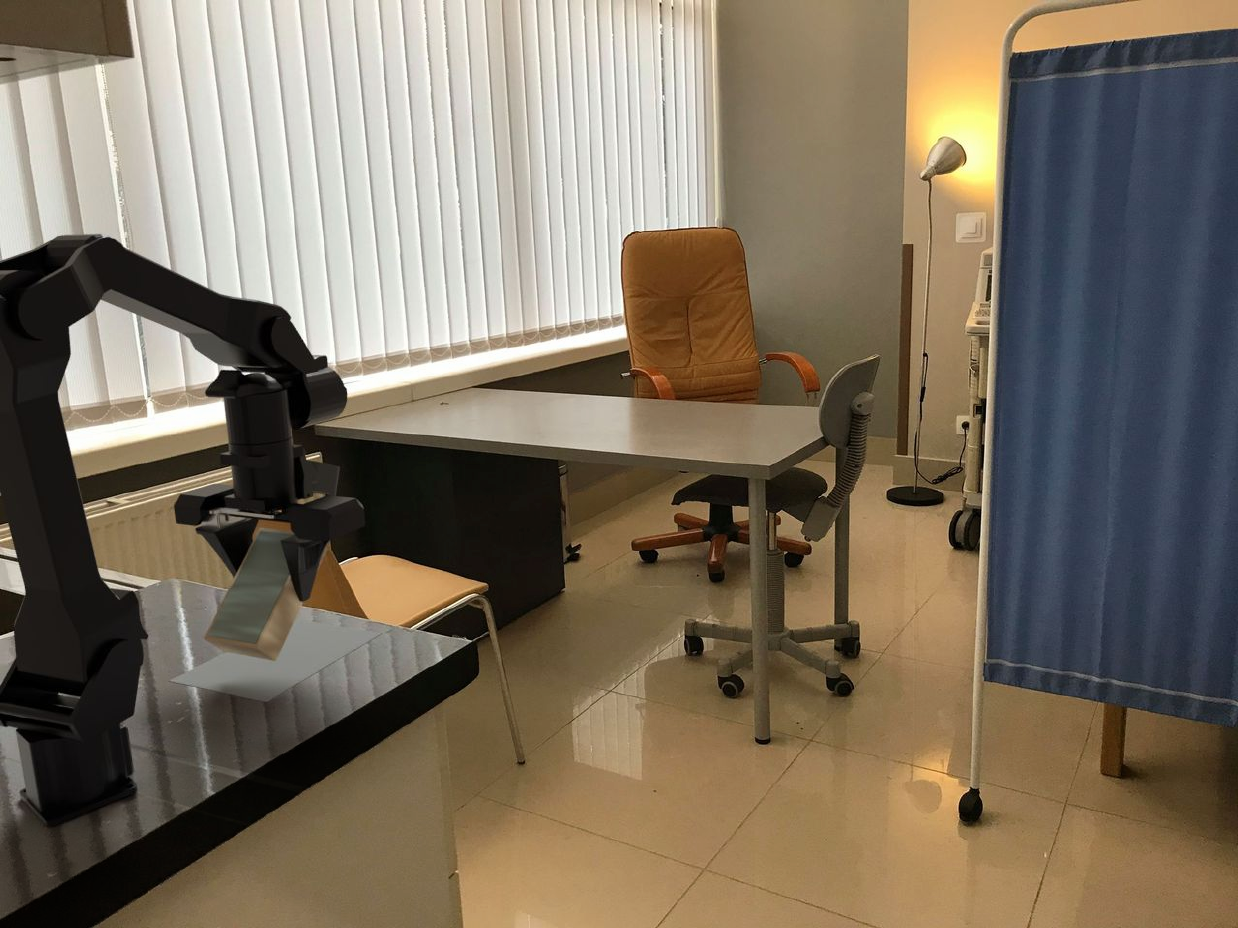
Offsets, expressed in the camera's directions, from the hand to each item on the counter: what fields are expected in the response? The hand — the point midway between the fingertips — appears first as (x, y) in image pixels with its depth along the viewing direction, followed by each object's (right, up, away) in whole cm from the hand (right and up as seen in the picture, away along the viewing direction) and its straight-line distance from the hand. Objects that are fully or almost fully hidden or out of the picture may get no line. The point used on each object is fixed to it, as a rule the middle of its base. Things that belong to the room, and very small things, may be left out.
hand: (276, 595), depth 97 cm
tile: (-2, -4, -4) cm, 6 cm away
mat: (-1, -7, +3) cm, 7 cm away
